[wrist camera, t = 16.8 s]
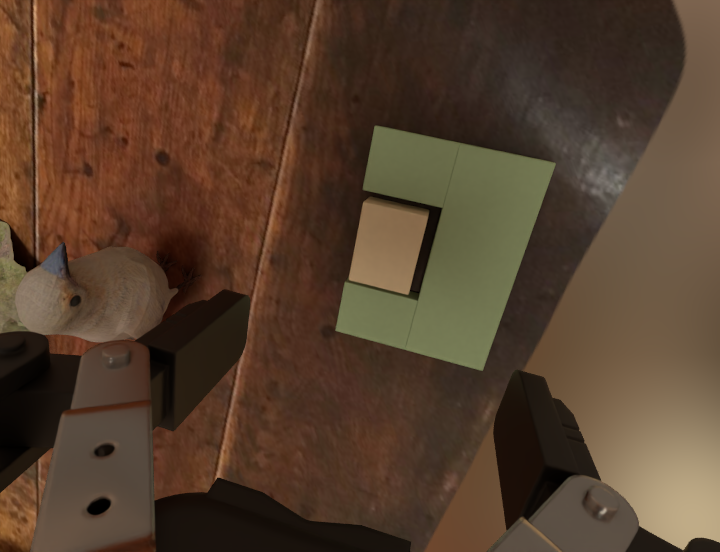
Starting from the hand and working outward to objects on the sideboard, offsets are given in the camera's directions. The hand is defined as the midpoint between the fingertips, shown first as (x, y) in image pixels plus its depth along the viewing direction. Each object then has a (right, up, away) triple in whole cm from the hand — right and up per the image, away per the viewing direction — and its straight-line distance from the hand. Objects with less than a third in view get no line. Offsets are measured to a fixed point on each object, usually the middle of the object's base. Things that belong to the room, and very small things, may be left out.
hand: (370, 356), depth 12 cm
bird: (-16, +3, +25) cm, 30 cm away
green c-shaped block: (+5, +4, +19) cm, 21 cm away
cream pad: (+2, +5, +20) cm, 20 cm away
